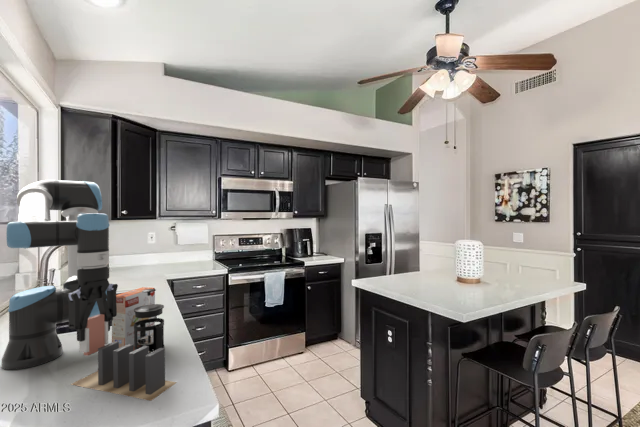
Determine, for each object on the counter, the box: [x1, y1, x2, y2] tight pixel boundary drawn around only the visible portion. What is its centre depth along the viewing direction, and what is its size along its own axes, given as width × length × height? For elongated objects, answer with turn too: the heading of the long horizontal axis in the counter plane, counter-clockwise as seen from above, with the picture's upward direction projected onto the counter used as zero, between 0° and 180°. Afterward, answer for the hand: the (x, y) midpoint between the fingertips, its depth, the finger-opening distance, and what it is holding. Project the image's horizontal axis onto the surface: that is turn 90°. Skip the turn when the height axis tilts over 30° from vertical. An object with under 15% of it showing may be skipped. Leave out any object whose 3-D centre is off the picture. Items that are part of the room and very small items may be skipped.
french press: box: [134, 288, 165, 352], centre depth 105 cm, size 12×9×23 cm
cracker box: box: [111, 286, 156, 348], centre depth 112 cm, size 14×6×21 cm, turn 168°
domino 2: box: [113, 344, 134, 388], centre depth 88 cm, size 2×5×10 cm, turn 163°
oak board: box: [70, 370, 178, 402], centre depth 88 cm, size 28×9×1 cm, turn 73°
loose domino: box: [83, 314, 105, 357], centre depth 91 cm, size 2×5×10 cm, turn 163°
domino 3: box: [129, 346, 150, 392], centre depth 86 cm, size 2×5×10 cm, turn 163°
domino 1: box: [97, 341, 119, 385], centre depth 89 cm, size 2×5×10 cm, turn 163°
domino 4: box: [145, 347, 166, 395], centre depth 85 cm, size 2×5×10 cm, turn 163°
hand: (94, 347), depth 91 cm, fingers closed on loose domino, 5 cm apart
